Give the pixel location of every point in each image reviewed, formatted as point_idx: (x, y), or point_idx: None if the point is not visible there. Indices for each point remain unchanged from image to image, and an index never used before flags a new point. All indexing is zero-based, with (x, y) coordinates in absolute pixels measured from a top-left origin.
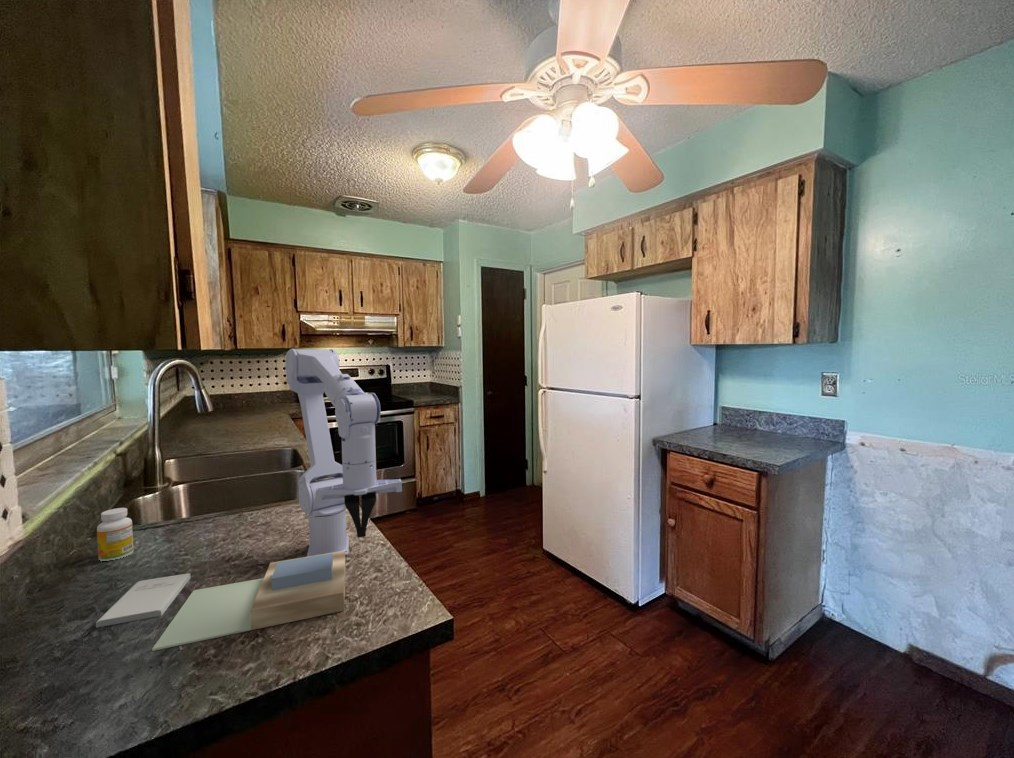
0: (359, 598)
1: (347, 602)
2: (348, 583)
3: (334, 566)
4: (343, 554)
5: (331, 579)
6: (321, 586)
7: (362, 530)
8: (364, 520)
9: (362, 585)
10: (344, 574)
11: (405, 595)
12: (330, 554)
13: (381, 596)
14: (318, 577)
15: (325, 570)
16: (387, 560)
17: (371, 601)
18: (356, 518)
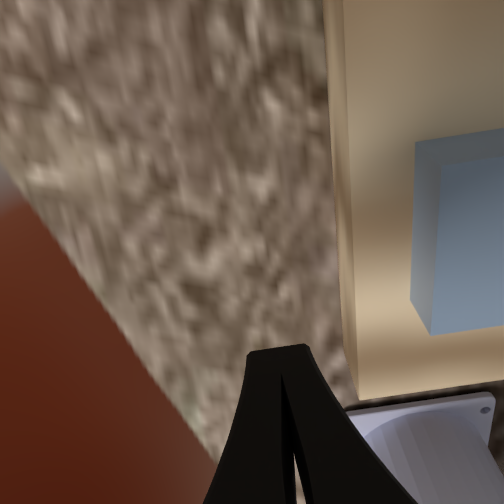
0: (254, 69)
1: (309, 44)
2: (320, 216)
3: (402, 274)
4: (365, 370)
5: (416, 143)
6: (469, 76)
7: (272, 381)
8: (257, 461)
9: (255, 186)
10: (347, 209)
11: (14, 40)
12: (442, 324)
13: (144, 62)
14: (496, 138)
15: (472, 157)
16: (175, 359)
17: (188, 23)
18: (349, 480)
